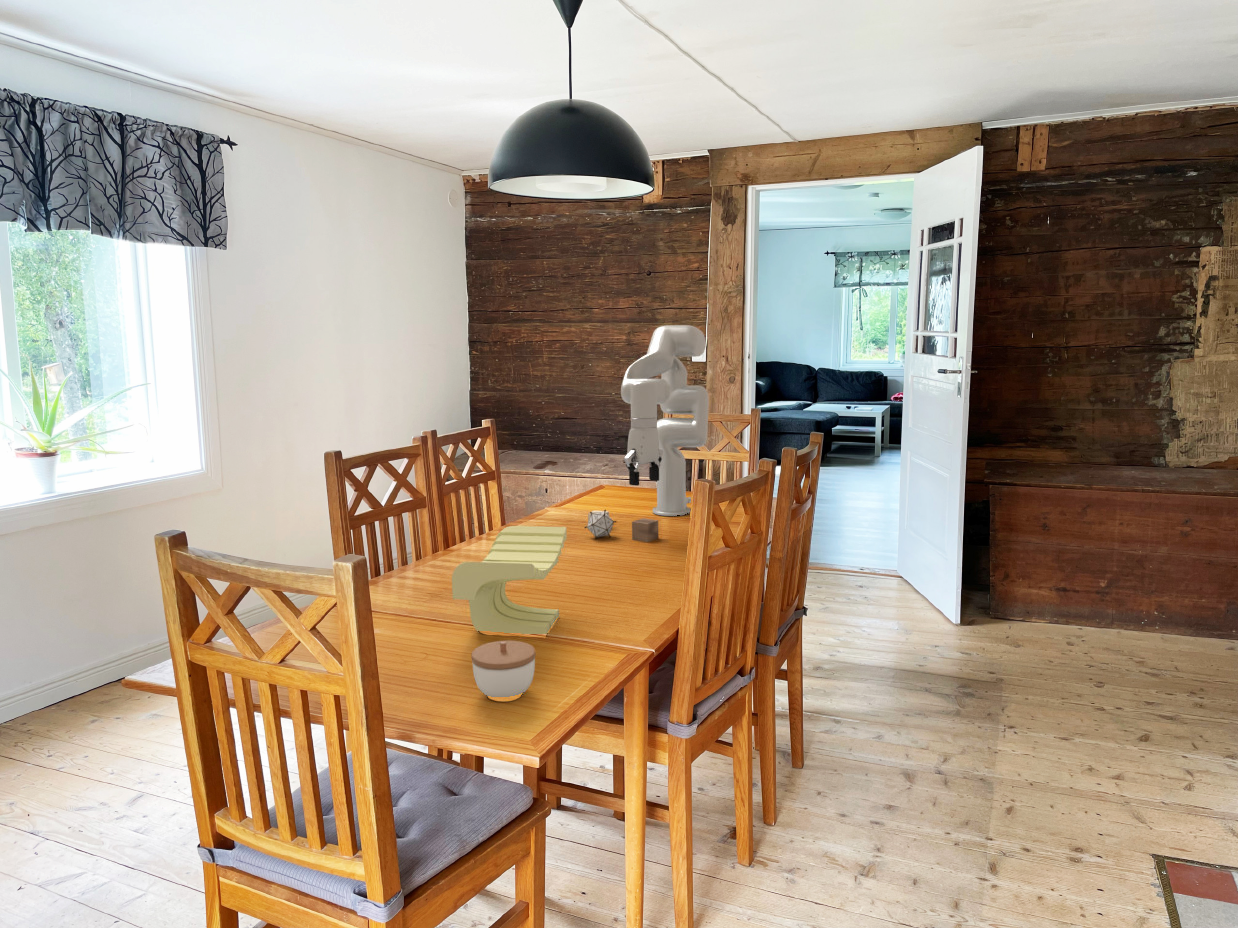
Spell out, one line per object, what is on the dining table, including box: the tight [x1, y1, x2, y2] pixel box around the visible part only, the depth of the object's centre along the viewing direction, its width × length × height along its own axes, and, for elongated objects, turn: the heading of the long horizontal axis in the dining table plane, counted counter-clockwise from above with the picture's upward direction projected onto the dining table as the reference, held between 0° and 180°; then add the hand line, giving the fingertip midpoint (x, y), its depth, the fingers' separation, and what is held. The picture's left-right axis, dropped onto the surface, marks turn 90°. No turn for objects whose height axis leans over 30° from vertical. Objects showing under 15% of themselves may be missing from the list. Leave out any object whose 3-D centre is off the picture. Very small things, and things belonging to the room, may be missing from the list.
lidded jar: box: [471, 640, 536, 697], centre depth 146 cm, size 11×11×9 cm
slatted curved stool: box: [451, 525, 568, 634], centre depth 180 cm, size 30×16×18 cm, turn 171°
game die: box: [584, 509, 618, 540], centre depth 255 cm, size 9×8×10 cm
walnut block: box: [631, 518, 659, 543], centre depth 252 cm, size 6×6×6 cm
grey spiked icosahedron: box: [587, 510, 610, 531], centre depth 267 cm, size 5×5×5 cm
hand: (644, 482), depth 250 cm, fingers open, 9 cm apart
